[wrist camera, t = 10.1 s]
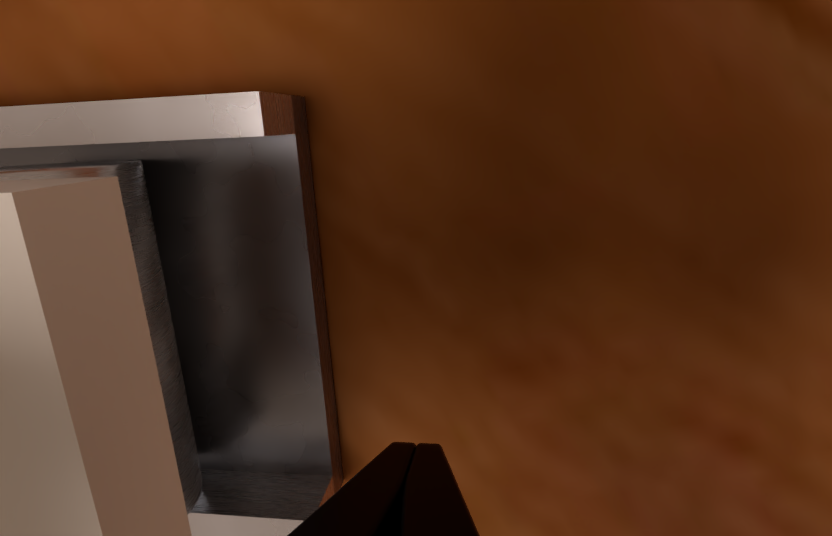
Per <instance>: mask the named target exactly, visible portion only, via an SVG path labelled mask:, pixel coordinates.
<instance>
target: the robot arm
mask: <svg viewBox="0 0 832 536" xmlns="http://www.w3.org/2000/svg"><path fill="white" fill-rule="evenodd" d="M287 536H479V533H478V531H477V529H476V526H475V524H474V522H473V519H472V517H471V515H470V512H469V510H468V508H467V505H466V503H465V501H464V498H463V496H462V494H461V491H460V489H459V487H458V484H457V482H456V480H455V477H454V475H453V472H452V470H451V468H450V465H449V463H448V461H447V458H446V456H445V454H444V451H443V449H442V447H441V446H440V445H439V444H429V443H419V444H418V445H417V446H416V445H415V444H414V443H407V442H393V443H392V444H390V445H389V446H388V447H387V448H386V449H385V450H383V451H382V452H381V453H380V454H379V455H378V456H377V457H375V458H374V459H373V460H372V461H371V462H370V463H369V464H368V465H366V466H365V467H364V468H363V469H362V470H361V471H360V472H359V473H357V474H356V475H355V476H354V477H353V478H352V479H351V480H350V481H348V482H347V483H346V484H345V485H344V486H343V487H342V488H340V489H339V490H338V491H337V492H336V493H335V494H334V495H333V496H331V497H330V498H329V499H328V500H327V501H326V502H325V503H324V504H322V505H321V506H320V507H319V508H318V509H317V510H316V511H314V512H313V513H312V514H311V515H310V516H309V517H308V518H307V519H305V520H304V521H303V522H302V523H301V524H300V525H299V526H298V527H296V528H295V529H294V530H293V531H292V532H291V533H290V534H288V535H287Z"/></svg>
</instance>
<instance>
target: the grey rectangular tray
mask: <svg viewBox="0 0 832 536" xmlns="http://www.w3.org/2000/svg"><path fill="white" fill-rule="evenodd" d="M114 176H117V177H118V181H119V186H120V191H121V196H122V201H123V206H124V210H125V215H126V220H127V225H128V230H129V235H130V240H131V244H132V249H133V254H134V259H135V264H136V269H137V273H138V278H139V283H140V288H141V293H142V298H143V302H144V307H145V312H146V317H147V322H148V327H149V331H150V336H151V341H152V346H153V351H154V356H155V360H156V365H157V370H158V375H159V380H160V385H161V389H162V394H163V399H164V404H165V409H166V414H167V419H168V423H169V428H170V433H171V438H172V443H173V448H174V452H175V457H176V462H177V467H178V472H179V477H180V481H181V486H182V491H183V496H184V501H185V506H186V510H187V515H188V520H189V525H190V530H191V535H192V536H287V535H288V534H290V533H291V532H292V531H293V530H294V529H295V528H296V527H298V526H299V525H300V524H301V523H302V522H303V521H304V520H305V519H307V518H308V517H309V516H310V515H311V514H312V513H313V512H314V511H316V510H317V509H318V508H319V507H320V506H321V505H322V504H324V503H325V502H326V501H327V500H328V499H329V498H330V497H331V496H333V495H334V494H335V493H336V492H337V491H338V490H339V489H340V488H341V486H342V483H343V472H342V462H341V452H340V443H339V433H338V423H337V413H336V403H335V394H334V384H333V374H332V364H331V354H330V344H329V335H328V325H327V315H326V305H325V295H324V286H323V276H322V266H321V256H320V246H319V237H318V227H317V217H316V207H315V197H314V187H313V178H312V168H311V158H310V148H309V138H308V129H307V119H306V109H305V99H304V97H303V96H294V95H286V94H278V93H269V92H261V91H254V92H238V93H221V94H205V95H188V96H172V97H155V98H139V99H122V100H106V101H89V102H73V103H56V104H40V105H23V106H7V107H0V181H3V180H31V179H58V178H86V177H114Z"/></svg>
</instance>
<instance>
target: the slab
mask: <svg viewBox="0 0 832 536" xmlns="http://www.w3.org/2000/svg"><path fill="white" fill-rule="evenodd" d="M0 536H192V535H191V530H190V525H189V520H188V515H187V510H186V506H185V501H184V496H183V491H182V486H181V481H180V477H179V472H178V467H177V462H176V457H175V452H174V448H173V443H172V438H171V433H170V428H169V423H168V419H167V414H166V409H165V404H164V399H163V394H162V389H161V385H160V380H159V375H158V370H157V365H156V360H155V356H154V351H153V346H152V341H151V336H150V331H149V327H148V322H147V317H146V312H145V307H144V302H143V298H142V293H141V288H140V283H139V278H138V273H137V269H136V264H135V259H134V254H133V249H132V244H131V240H130V235H129V230H128V225H127V220H126V215H125V210H124V206H123V201H122V196H121V191H120V186H119V181H118V177H117V176H114V177H86V178H58V179H31V180H3V181H0Z"/></svg>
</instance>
